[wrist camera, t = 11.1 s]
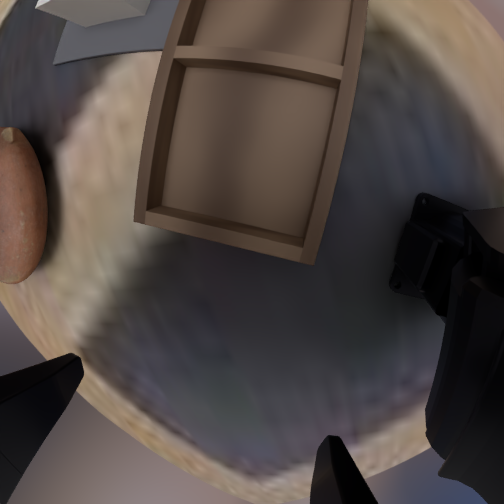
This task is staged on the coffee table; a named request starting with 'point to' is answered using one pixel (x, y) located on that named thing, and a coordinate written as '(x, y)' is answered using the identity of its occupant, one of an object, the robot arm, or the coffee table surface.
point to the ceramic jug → (20, 207)
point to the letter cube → (94, 10)
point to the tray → (251, 122)
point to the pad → (118, 35)
